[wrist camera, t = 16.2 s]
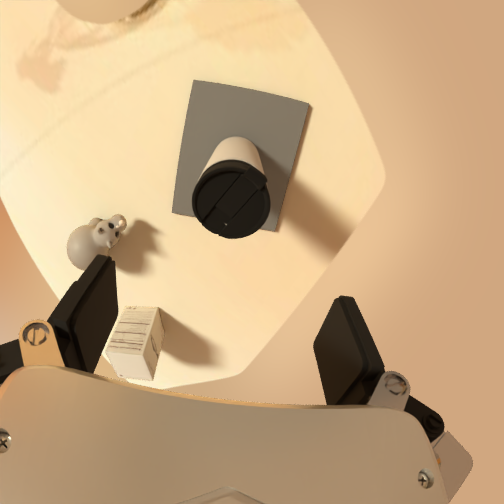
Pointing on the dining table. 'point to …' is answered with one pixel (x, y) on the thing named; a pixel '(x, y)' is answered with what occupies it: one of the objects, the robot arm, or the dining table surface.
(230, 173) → the travel mug
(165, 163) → the dining table surface
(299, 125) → the mat
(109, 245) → the chubby cartoon animal
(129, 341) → the supplement box
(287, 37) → the dining table surface
